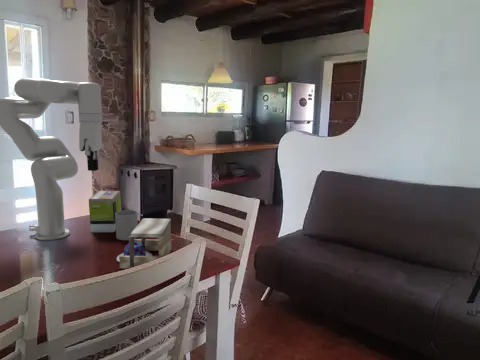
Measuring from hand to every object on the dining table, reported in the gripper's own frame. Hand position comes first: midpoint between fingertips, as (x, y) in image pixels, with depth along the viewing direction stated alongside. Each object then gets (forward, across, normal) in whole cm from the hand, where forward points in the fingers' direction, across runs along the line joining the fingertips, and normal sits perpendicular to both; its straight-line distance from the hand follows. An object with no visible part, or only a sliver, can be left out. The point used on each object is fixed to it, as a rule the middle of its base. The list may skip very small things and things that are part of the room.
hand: (93, 170), depth 139 cm
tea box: (+29, -24, -4) cm, 38 cm away
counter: (+29, +10, +21) cm, 37 cm away
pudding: (+30, +10, +17) cm, 35 cm away
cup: (+29, -12, +8) cm, 33 cm away
